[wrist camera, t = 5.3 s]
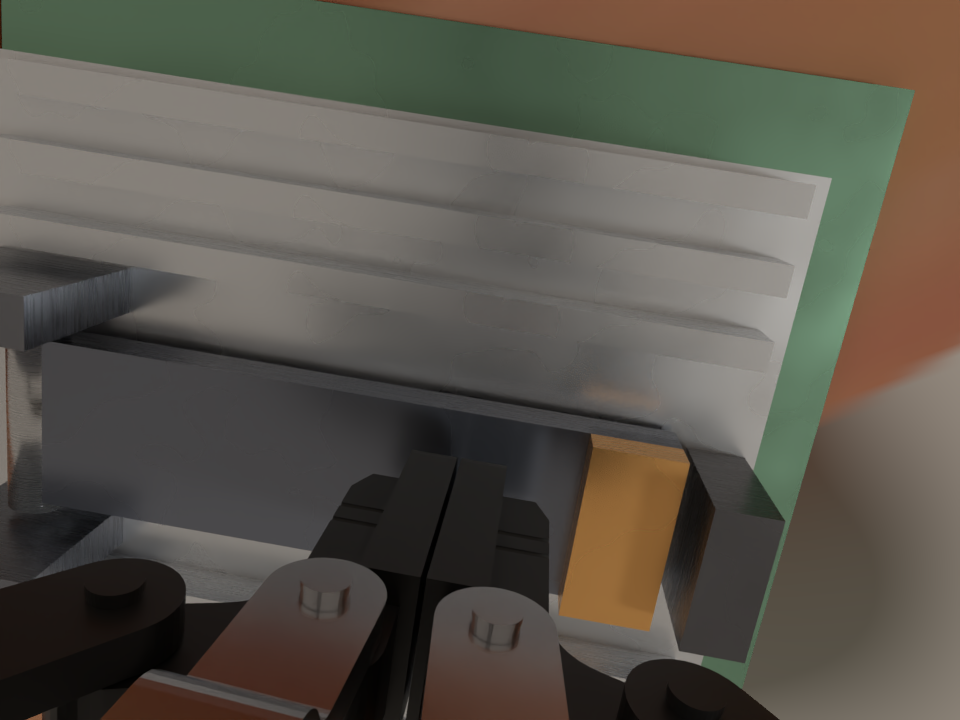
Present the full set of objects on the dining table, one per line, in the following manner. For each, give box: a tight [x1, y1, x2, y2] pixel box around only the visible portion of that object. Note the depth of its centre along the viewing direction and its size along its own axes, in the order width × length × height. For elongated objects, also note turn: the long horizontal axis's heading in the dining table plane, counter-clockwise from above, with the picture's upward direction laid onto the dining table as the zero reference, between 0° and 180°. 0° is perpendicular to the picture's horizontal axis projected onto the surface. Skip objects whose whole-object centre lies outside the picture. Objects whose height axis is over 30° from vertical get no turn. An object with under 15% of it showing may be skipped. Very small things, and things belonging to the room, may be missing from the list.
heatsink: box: [0, 0, 915, 720], centre depth 15 cm, size 16×19×7 cm
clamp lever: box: [5, 331, 690, 631], centre depth 13 cm, size 12×3×2 cm, turn 81°
